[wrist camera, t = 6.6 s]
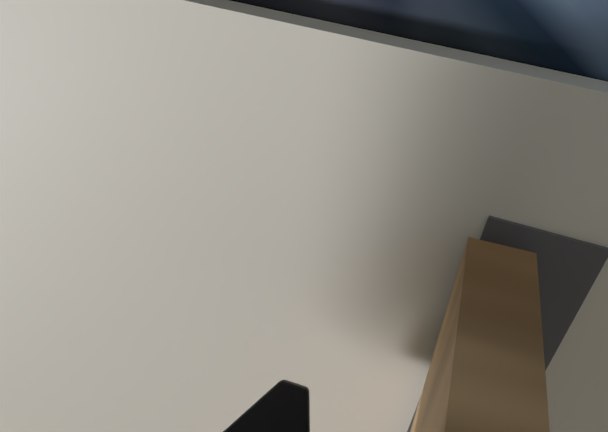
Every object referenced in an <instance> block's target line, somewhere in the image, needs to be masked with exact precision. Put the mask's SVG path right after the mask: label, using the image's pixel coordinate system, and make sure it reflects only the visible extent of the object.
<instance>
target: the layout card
mask: <svg viewBox="0 0 608 432" xmlns="http://www.w3.org/2000/svg"><path fill="white" fill-rule="evenodd" d="M468 237H471V238H475V239H479V240H484V241H488V242H492V243H496V244H500V245H504V246H509V247H513V248H517V249H521V250H525V251H529V252H534V253H537V266H538V279H539V293H540V306H541V320H542V333H543V347H544V360H545V374H546V387H547V401H548V414H549V428H550V432H608V81H603V80H598V79H594V78H589V77H584V76H580V75H575V74H570V73H566V72H561V71H556V70H552V69H547V68H542V67H538V66H533V65H528V64H524V63H519V62H514V61H510V60H505V59H500V58H496V57H491V56H486V55H482V54H477V53H472V52H468V51H463V50H458V49H454V48H449V47H445V46H440V45H435V44H431V43H426V42H421V41H417V40H412V39H407V38H403V37H398V36H393V35H389V34H384V33H379V32H375V31H370V30H365V29H361V28H356V27H351V26H347V25H342V24H337V23H333V22H328V21H323V20H319V19H314V18H309V17H305V16H300V15H296V14H291V13H286V12H282V11H277V10H272V9H268V8H263V7H258V6H254V5H249V4H244V3H240V2H235V1H230V0H0V432H223V431H224V430H225V429H226V428H228V427H229V426H230V425H231V424H232V423H233V422H234V421H235V420H237V419H238V418H239V417H240V416H241V415H242V414H243V413H244V412H245V411H247V410H248V409H249V408H250V407H251V406H252V405H253V404H254V403H256V402H257V401H258V400H259V399H260V398H261V397H262V396H263V395H264V394H266V393H267V392H268V391H269V390H270V389H271V388H272V387H273V386H275V385H276V384H277V383H278V382H279V381H281V380H288V381H291V382H294V383H297V384H300V385H303V386H306V387H308V389H309V397H310V432H410V430H411V427H412V424H413V420H414V417H415V414H416V410H417V407H418V404H419V400H420V397H421V393H422V390H423V387H424V383H425V380H426V377H427V373H428V370H429V367H430V363H431V360H432V357H433V353H434V350H435V347H436V343H437V340H438V337H439V333H440V330H441V327H442V323H443V320H444V317H445V313H446V310H447V307H448V303H449V300H450V297H451V293H452V290H453V287H454V283H455V280H456V277H457V273H458V270H459V267H460V263H461V260H462V257H463V253H464V250H465V246H466V243H467V240H468Z"/></svg>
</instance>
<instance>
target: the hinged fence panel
mask: <svg viewBox="0 0 608 432" xmlns="http://www.w3.org/2000/svg"><path fill="white" fill-rule="evenodd" d="M410 432H550V428H549V414H548V401H547V387H546V374H545V360H544V347H543V333H542V320H541V306H540V293H539V279H538V266H537V253H534V252H529V251H525V250H521V249H517V248H513V247H509V246H504V245H500V244H496V243H492V242H488V241H484V240H479V239H475V238H471V237H468V240H467V243H466V246H465V250H464V253H463V257H462V260H461V263H460V267H459V270H458V273H457V277H456V280H455V283H454V287H453V290H452V293H451V297H450V300H449V303H448V307H447V310H446V313H445V317H444V320H443V323H442V327H441V330H440V333H439V337H438V340H437V343H436V347H435V350H434V353H433V357H432V360H431V363H430V367H429V370H428V373H427V377H426V380H425V383H424V387H423V390H422V393H421V397H420V400H419V404H418V407H417V410H416V414H415V417H414V420H413V424H412V427H411V430H410Z"/></svg>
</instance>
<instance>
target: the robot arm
mask: <svg viewBox="0 0 608 432" xmlns="http://www.w3.org/2000/svg"><path fill="white" fill-rule="evenodd" d="M223 432H310V397H309V389H308V387H306V386H303V385H300V384H297V383H294V382H291V381H288V380H281V381H279V382H278V383H277V384H276V385H275V386H273V387H272V388H271V389H270V390H269V391H268V392H267V393H266V394H264V395H263V396H262V397H261V398H260V399H259V400H258V401H257V402H256V403H254V404H253V405H252V406H251V407H250V408H249V409H248V410H247V411H245V412H244V413H243V414H242V415H241V416H240V417H239V418H238V419H237V420H235V421H234V422H233V423H232V424H231V425H230V426H229V427H228V428H226V429H225V430H224V431H223Z"/></svg>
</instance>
